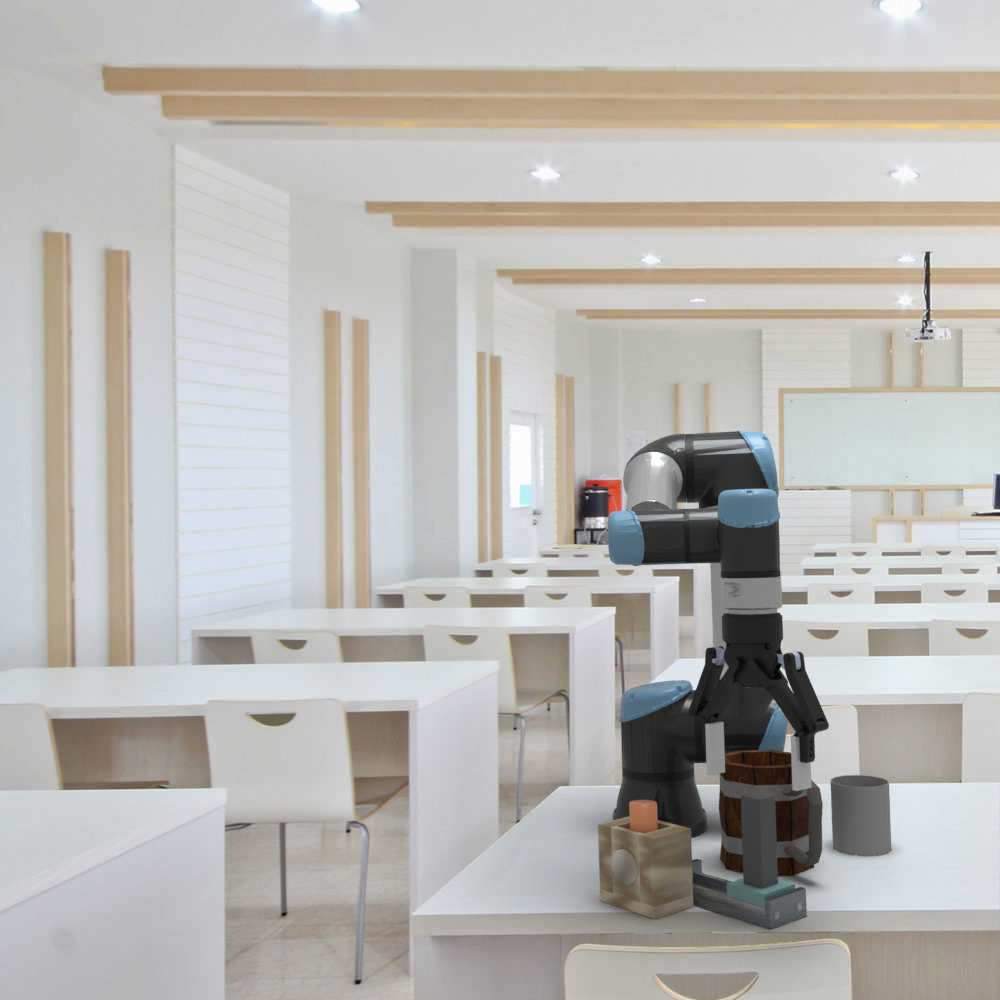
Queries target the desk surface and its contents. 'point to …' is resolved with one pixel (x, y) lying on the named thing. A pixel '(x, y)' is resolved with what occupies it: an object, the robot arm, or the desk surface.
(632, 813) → the orange cylinder
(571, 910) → the desk surface
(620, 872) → the wooden box
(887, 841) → the cup
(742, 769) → the mug
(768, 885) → the carriage
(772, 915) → the rail track
